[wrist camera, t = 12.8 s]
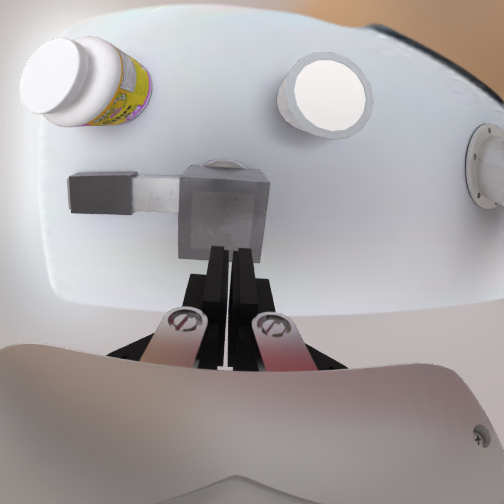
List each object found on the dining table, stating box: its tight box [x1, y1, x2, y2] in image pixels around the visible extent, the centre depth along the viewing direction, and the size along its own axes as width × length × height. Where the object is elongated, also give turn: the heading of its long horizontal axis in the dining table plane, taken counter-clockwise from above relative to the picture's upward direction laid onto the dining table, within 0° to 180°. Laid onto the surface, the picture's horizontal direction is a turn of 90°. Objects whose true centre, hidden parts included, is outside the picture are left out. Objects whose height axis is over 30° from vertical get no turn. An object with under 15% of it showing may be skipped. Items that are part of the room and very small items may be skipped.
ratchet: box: [67, 159, 247, 215], centre depth 23 cm, size 20×7×6 cm, turn 84°
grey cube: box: [178, 165, 270, 263], centre depth 22 cm, size 6×6×6 cm
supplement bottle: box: [19, 36, 152, 127], centre depth 15 cm, size 7×7×13 cm
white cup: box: [277, 52, 373, 140], centre depth 20 cm, size 7×7×7 cm
